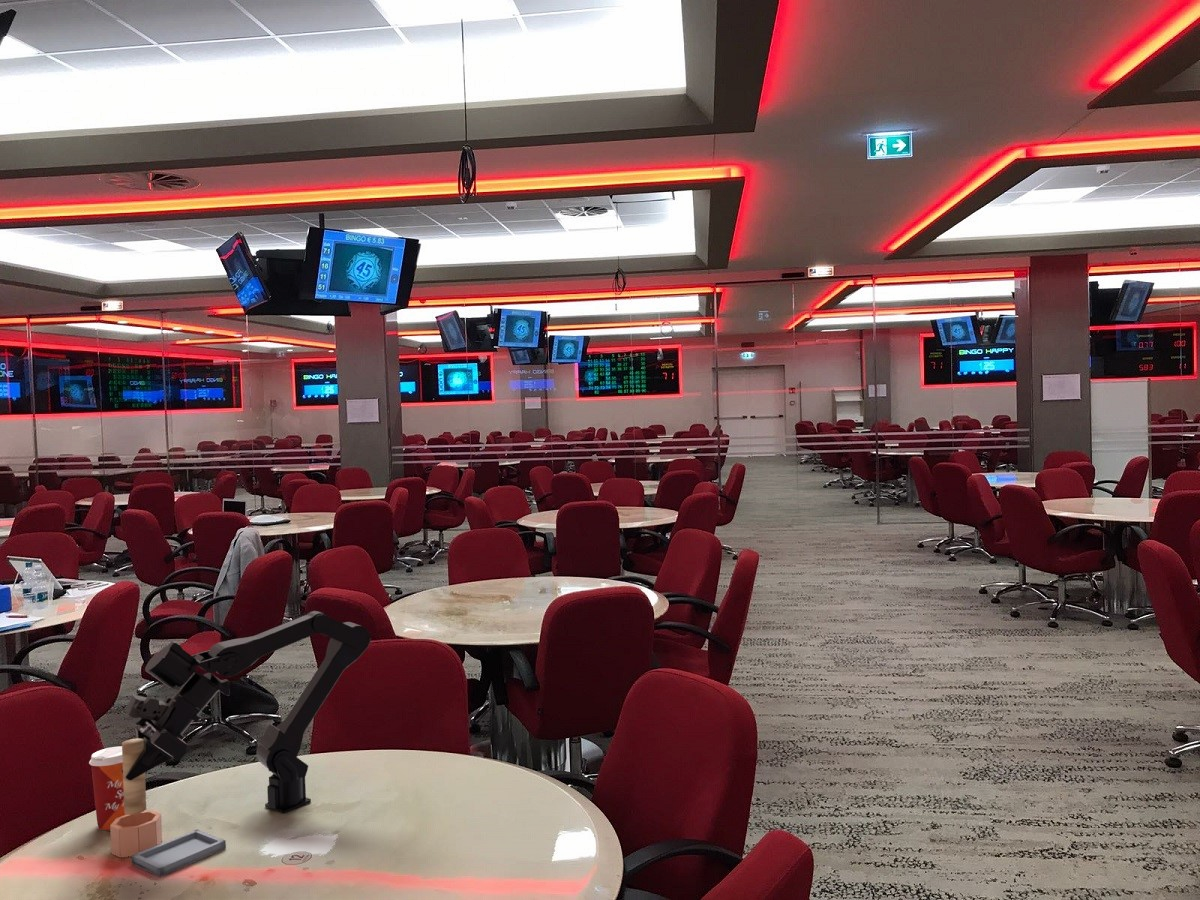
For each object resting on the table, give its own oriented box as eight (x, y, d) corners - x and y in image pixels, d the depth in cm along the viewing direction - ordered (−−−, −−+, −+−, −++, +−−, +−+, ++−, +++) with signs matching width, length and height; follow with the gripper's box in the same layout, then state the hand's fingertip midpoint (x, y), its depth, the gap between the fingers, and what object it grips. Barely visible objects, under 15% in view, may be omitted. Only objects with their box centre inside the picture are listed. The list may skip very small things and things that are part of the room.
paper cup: (117, 834, 164) (114, 759, 164) (81, 832, 166) (79, 758, 166) (146, 816, 172) (143, 745, 172) (112, 814, 173) (110, 744, 173)
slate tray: (197, 837, 162) (197, 829, 162) (225, 848, 157) (225, 840, 157) (132, 864, 152) (131, 855, 152) (159, 877, 147) (159, 868, 147)
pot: (146, 834, 164) (145, 807, 164) (168, 843, 159) (167, 816, 159) (104, 850, 157) (103, 822, 157) (126, 860, 153) (125, 832, 153)
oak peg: (140, 805, 161) (137, 737, 161) (150, 809, 159) (147, 740, 159) (120, 812, 158) (118, 743, 158) (130, 816, 156) (128, 746, 156)
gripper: (143, 668, 168) (79, 739, 161) (166, 687, 153) (97, 766, 147) (189, 700, 173) (129, 771, 166) (215, 722, 158) (150, 800, 152)
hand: (125, 776), depth 158 cm, fingers closed on oak peg, 3 cm apart
